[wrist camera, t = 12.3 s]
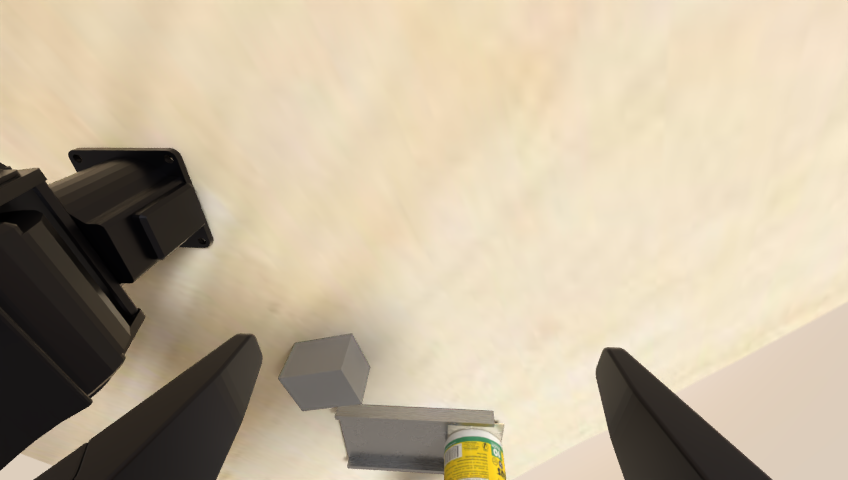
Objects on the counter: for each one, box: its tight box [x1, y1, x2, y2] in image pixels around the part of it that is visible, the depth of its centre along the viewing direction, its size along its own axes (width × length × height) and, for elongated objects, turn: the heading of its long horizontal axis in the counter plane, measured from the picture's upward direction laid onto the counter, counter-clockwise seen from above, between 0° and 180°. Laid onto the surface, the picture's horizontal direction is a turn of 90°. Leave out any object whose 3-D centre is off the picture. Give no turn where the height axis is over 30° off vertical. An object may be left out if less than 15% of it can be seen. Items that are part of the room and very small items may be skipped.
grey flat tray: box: [335, 405, 504, 474], centre depth 34 cm, size 15×9×1 cm, turn 91°
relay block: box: [278, 334, 370, 411], centre depth 28 cm, size 5×4×4 cm
